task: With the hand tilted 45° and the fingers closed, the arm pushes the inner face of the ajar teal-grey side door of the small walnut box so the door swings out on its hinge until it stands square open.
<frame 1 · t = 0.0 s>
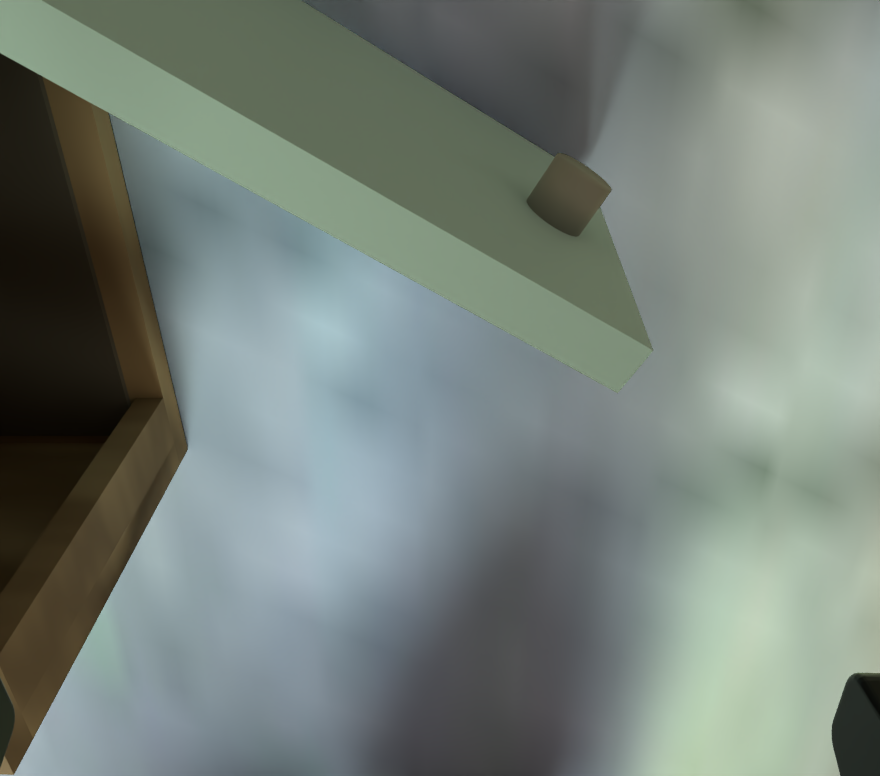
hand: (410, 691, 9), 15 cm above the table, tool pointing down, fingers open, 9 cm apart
door: (311, 59, 15), point 5 cm above the table, hinge at 58.0°
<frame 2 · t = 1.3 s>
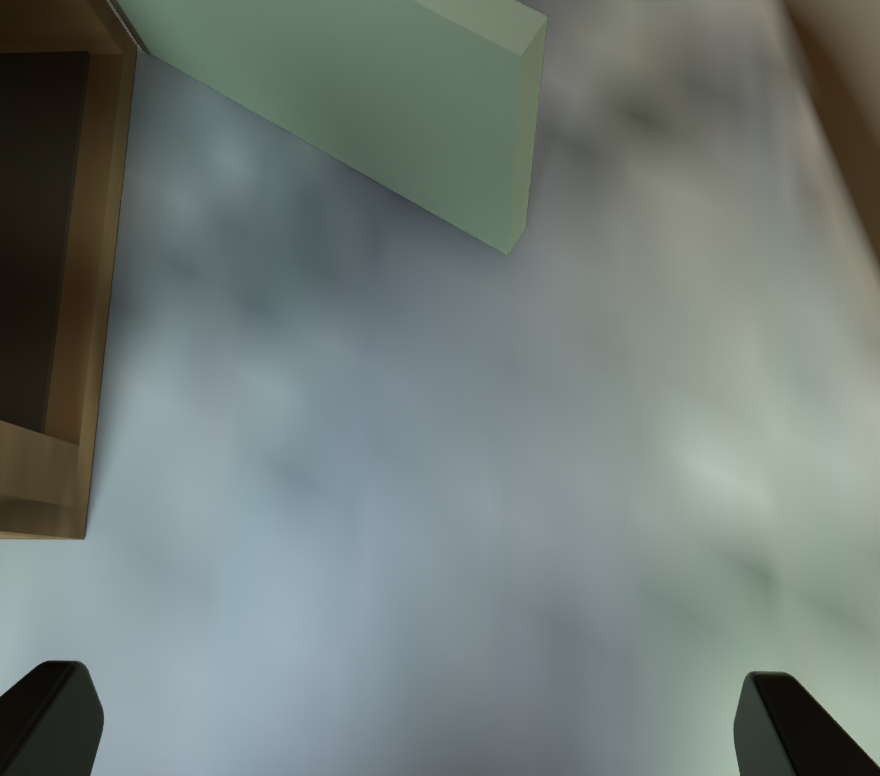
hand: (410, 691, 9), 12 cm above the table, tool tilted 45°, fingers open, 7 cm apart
door: (293, 17, 19), point 5 cm above the table, hinge at 58.0°
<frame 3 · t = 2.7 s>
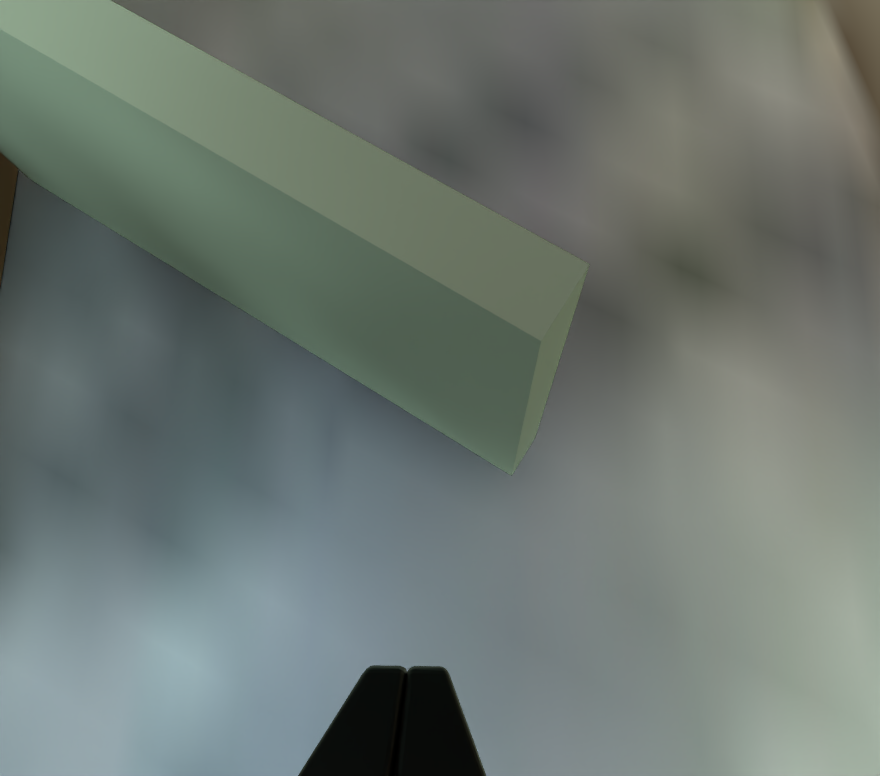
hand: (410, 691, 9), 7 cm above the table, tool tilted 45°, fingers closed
door: (196, 169, 13), point 5 cm above the table, hinge at 58.0°
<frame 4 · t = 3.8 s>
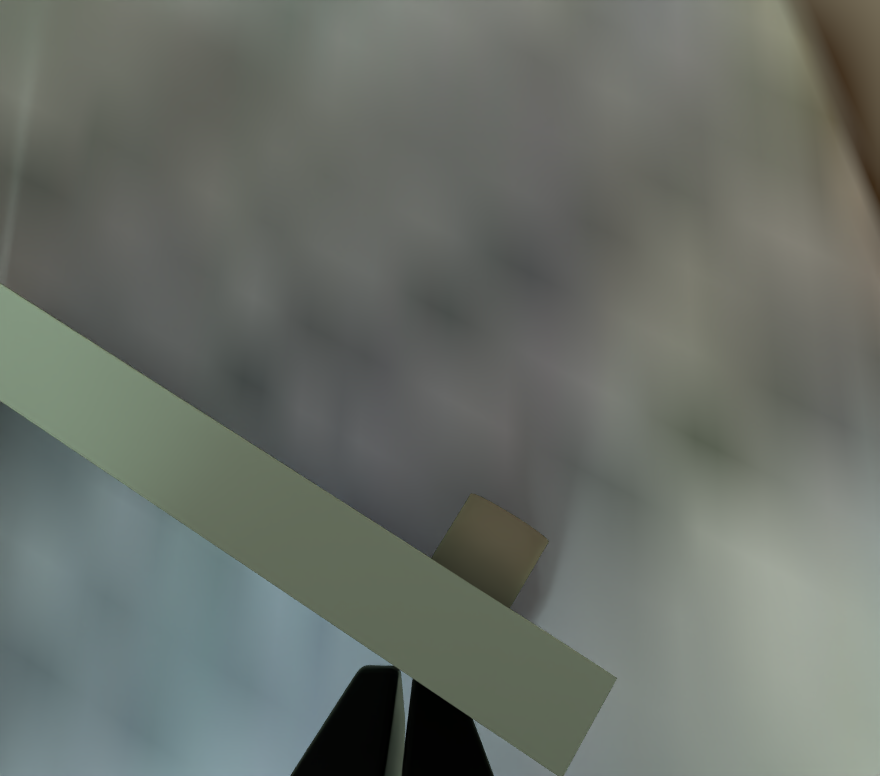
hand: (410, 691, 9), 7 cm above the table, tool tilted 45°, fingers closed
door: (174, 390, 12), point 5 cm above the table, hinge at 58.5°, touching gripper
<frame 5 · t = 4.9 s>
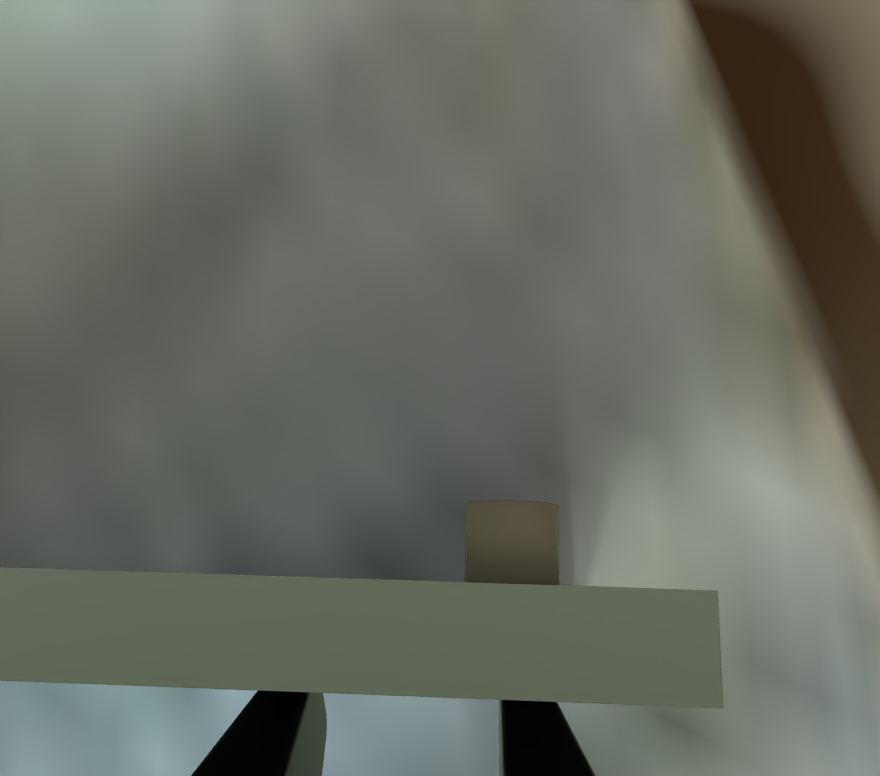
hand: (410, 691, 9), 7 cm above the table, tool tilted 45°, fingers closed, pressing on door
door: (131, 567, 11), point 5 cm above the table, hinge at 86.9°, touching gripper
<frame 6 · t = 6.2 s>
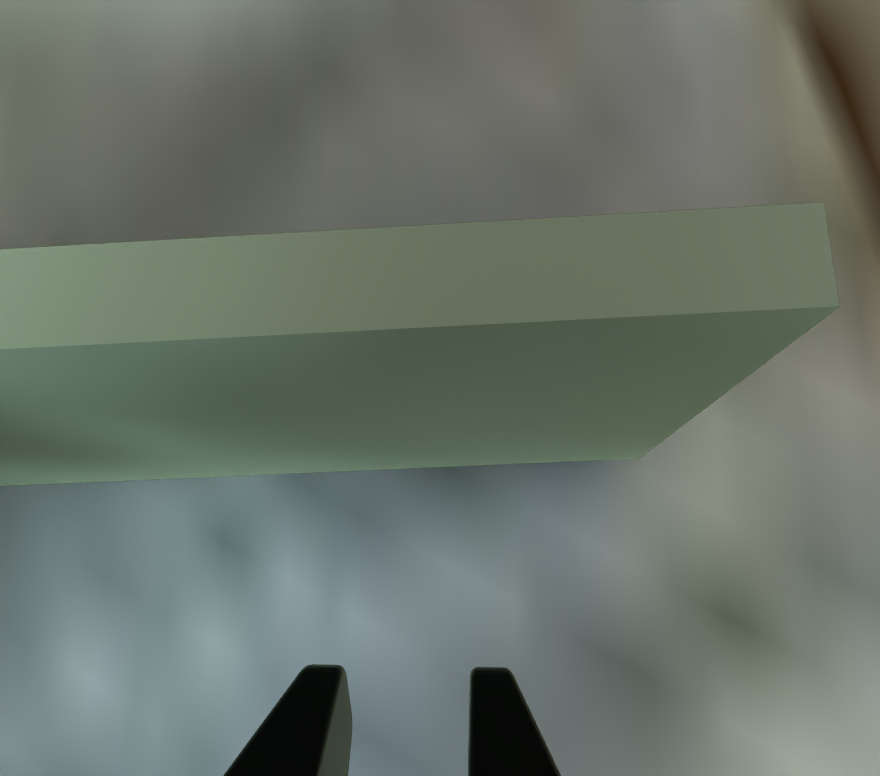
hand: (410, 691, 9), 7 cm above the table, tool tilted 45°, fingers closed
door: (203, 367, 11), point 5 cm above the table, hinge at 92.6°
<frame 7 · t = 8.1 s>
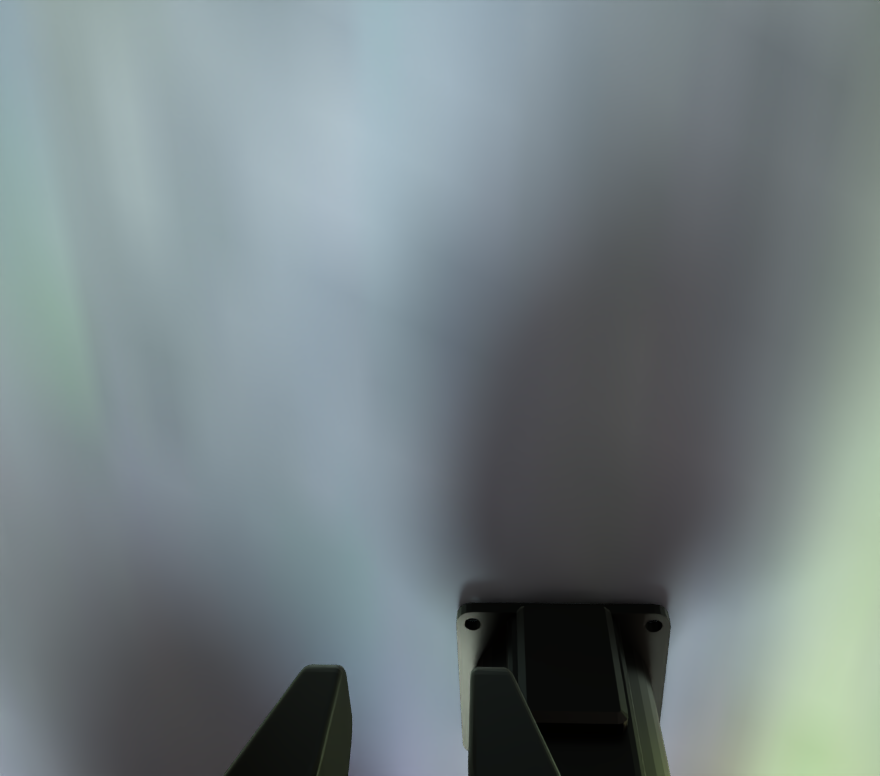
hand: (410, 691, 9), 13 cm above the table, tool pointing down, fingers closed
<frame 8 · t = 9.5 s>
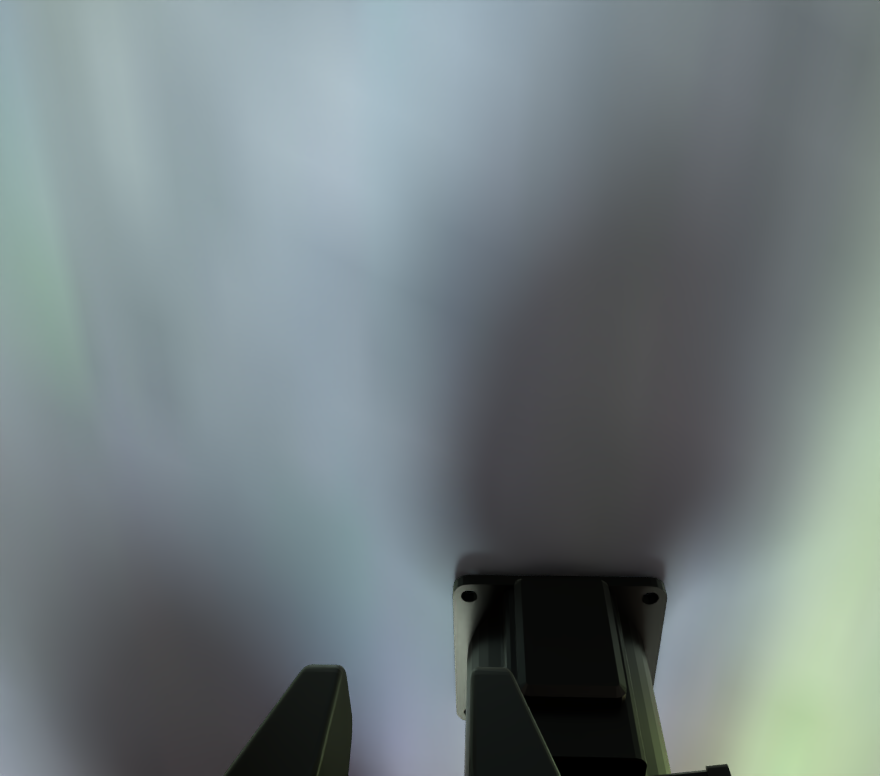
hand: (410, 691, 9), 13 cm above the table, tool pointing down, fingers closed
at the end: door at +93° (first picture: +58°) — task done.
